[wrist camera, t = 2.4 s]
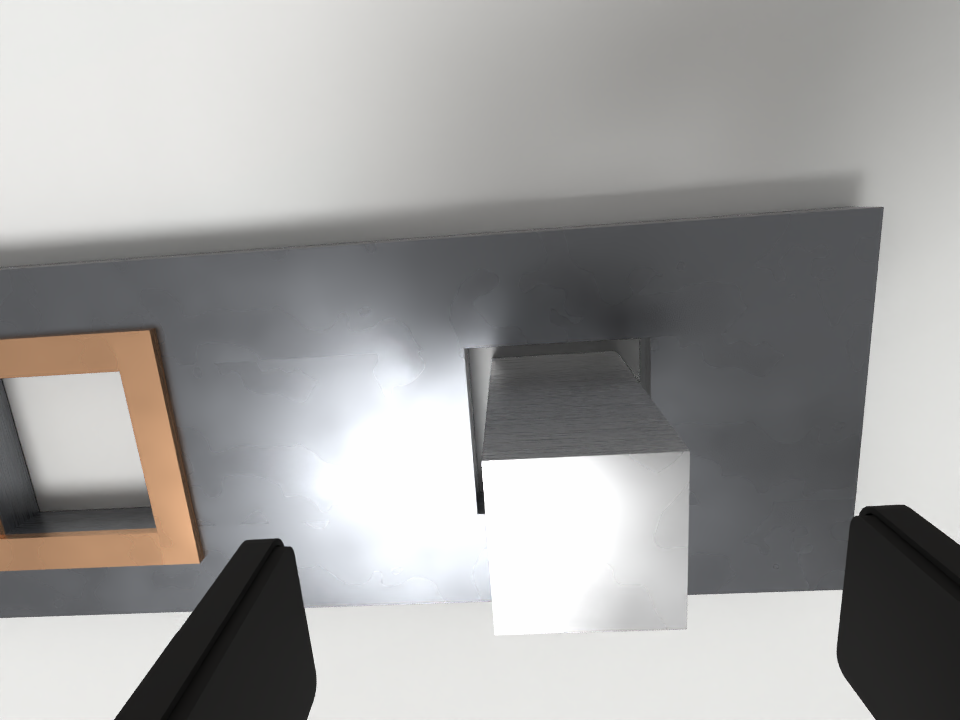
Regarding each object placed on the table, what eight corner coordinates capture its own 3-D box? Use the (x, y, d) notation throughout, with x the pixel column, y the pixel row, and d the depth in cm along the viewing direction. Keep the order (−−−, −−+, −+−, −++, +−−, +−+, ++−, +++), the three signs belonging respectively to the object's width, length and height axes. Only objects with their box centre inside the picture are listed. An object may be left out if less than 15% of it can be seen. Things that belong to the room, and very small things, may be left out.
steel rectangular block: (615, 350, 19) (690, 450, 11) (617, 465, 20) (686, 629, 12) (491, 358, 19) (481, 461, 12) (499, 470, 20) (495, 634, 13)
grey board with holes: (852, 206, 18) (890, 207, 16) (822, 562, 21) (851, 595, 19) (-209, 282, 20) (-278, 290, 18) (-94, 595, 23) (-144, 628, 21)
